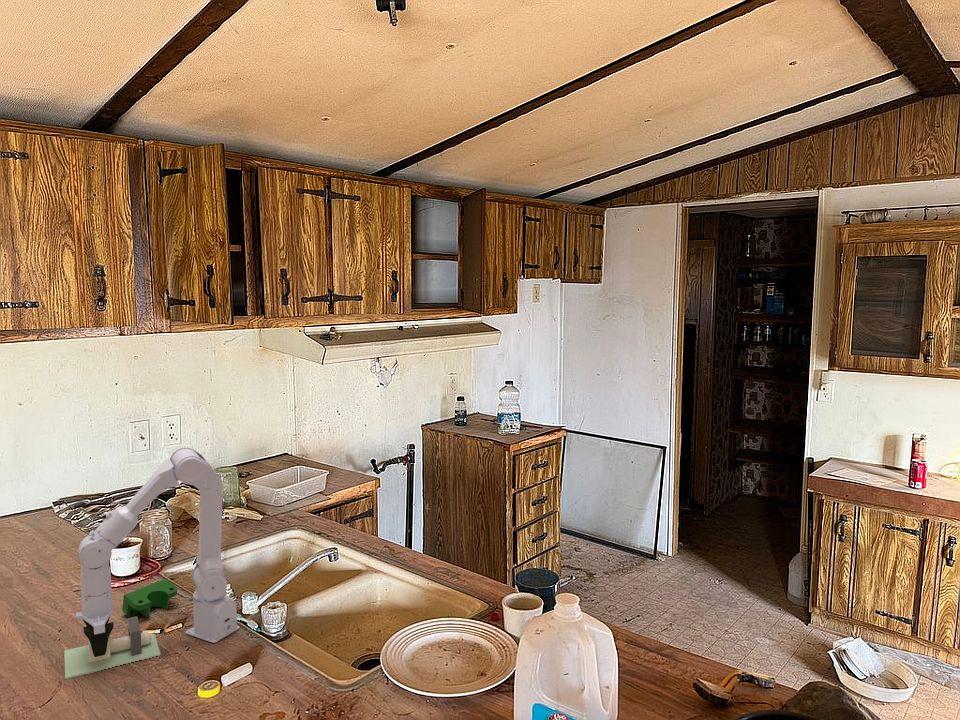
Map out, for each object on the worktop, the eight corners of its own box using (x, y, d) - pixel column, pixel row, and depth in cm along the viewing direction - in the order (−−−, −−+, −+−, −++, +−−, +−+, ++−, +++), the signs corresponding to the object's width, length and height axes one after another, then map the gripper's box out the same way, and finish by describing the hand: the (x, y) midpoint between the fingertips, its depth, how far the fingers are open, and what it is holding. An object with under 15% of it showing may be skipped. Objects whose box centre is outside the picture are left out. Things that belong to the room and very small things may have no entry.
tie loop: (138, 638, 157) (137, 616, 156) (141, 653, 151) (140, 630, 150) (128, 640, 156) (127, 618, 155) (131, 656, 150) (130, 632, 149)
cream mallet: (150, 638, 157) (149, 618, 156) (152, 647, 153) (152, 625, 153) (88, 653, 150) (87, 632, 150) (89, 662, 147) (88, 640, 146)
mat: (153, 631, 161) (153, 630, 161) (160, 655, 151) (160, 654, 151) (64, 652, 151) (64, 650, 151) (65, 679, 141) (65, 677, 141)
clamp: (141, 635, 167) (131, 612, 162) (127, 623, 170) (117, 599, 165) (184, 601, 176) (175, 578, 171) (170, 590, 178) (161, 567, 173)
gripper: (74, 582, 152) (77, 639, 153) (75, 609, 140) (79, 671, 141) (110, 575, 156) (112, 631, 157) (114, 601, 143) (117, 662, 145)
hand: (99, 650), depth 149 cm, fingers closed on cream mallet, 4 cm apart
